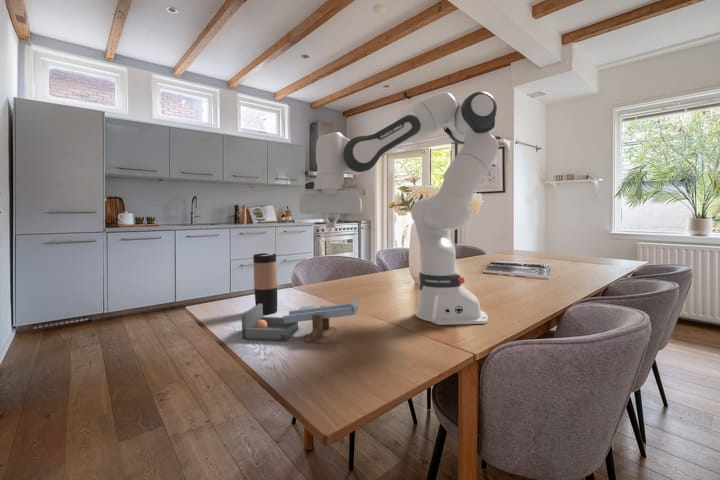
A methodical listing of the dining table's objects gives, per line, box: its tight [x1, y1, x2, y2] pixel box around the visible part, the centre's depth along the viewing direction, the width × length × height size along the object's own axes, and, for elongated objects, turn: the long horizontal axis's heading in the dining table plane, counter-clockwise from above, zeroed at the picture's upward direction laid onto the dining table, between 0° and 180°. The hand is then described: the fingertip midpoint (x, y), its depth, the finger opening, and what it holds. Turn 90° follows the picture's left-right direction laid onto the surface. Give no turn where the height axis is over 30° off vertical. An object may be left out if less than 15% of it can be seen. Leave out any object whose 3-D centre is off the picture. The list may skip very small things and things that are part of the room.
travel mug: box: [252, 252, 278, 316], centre depth 119 cm, size 8×8×20 cm
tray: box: [240, 304, 299, 342], centre depth 99 cm, size 12×11×7 cm
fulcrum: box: [305, 305, 337, 344], centre depth 96 cm, size 6×10×7 cm, turn 171°
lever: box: [282, 299, 359, 323], centre depth 100 cm, size 20×12×3 cm, turn 80°
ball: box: [256, 320, 267, 328], centre depth 99 cm, size 3×3×3 cm
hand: (331, 227), depth 112 cm, fingers closed
